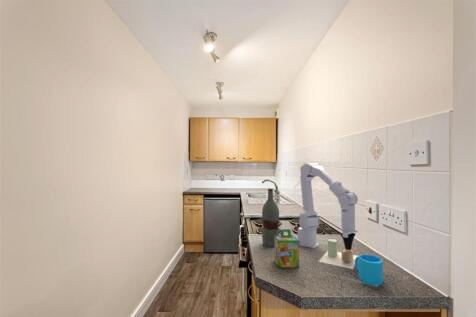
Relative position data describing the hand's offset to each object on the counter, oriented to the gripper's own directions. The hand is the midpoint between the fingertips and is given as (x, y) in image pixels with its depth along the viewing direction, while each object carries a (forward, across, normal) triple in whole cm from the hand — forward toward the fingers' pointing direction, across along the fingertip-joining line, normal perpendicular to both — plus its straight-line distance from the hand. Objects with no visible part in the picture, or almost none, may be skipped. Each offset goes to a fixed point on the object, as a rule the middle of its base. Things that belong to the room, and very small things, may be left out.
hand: (348, 249), depth 111 cm
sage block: (+4, +1, +7) cm, 8 cm away
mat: (+5, -2, +4) cm, 6 cm away
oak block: (+3, +1, 0) cm, 3 cm away
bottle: (+5, 0, +39) cm, 39 cm away
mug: (+5, -14, -9) cm, 17 cm away
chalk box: (+5, -19, +22) cm, 30 cm away
